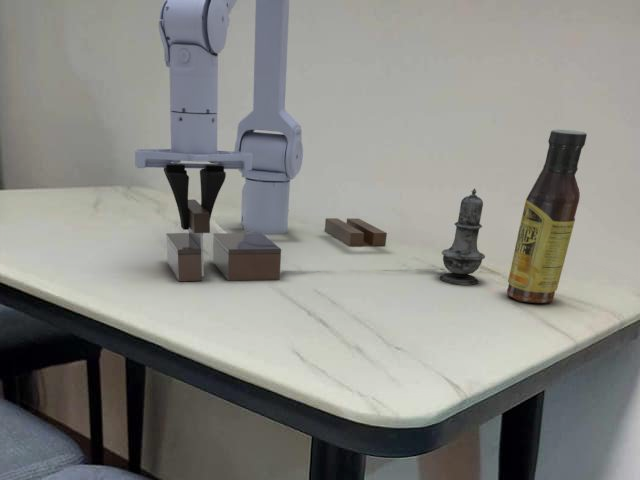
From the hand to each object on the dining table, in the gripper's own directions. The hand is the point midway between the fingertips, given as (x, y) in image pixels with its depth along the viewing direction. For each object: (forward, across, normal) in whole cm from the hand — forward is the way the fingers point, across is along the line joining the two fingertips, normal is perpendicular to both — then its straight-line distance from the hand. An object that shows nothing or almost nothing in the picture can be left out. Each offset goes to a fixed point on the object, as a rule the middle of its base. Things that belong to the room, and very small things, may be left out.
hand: (194, 228), depth 96 cm
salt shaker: (+6, +36, -7) cm, 37 cm away
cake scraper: (+5, 0, 0) cm, 5 cm away
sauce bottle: (+6, +41, -17) cm, 45 cm away
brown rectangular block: (+6, -2, 0) cm, 6 cm away
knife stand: (+6, +29, +16) cm, 34 cm away
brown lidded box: (+6, +7, 0) cm, 9 cm away
